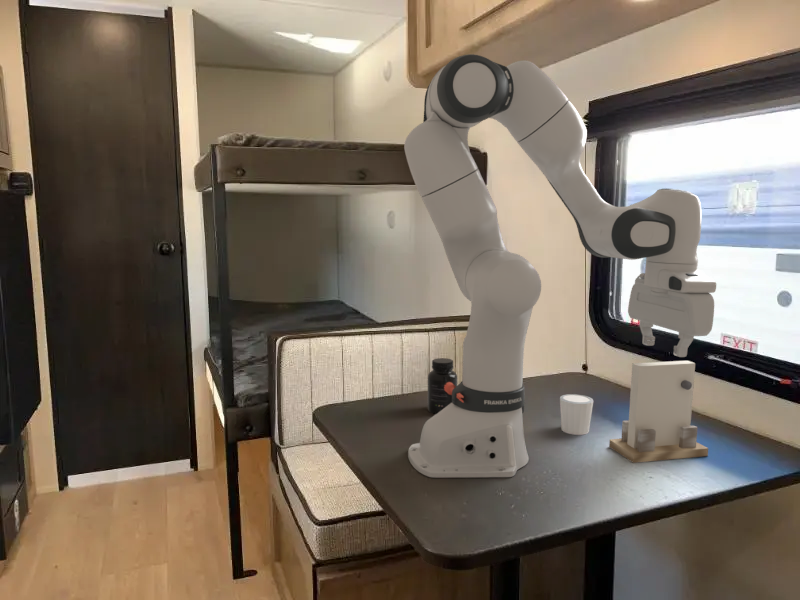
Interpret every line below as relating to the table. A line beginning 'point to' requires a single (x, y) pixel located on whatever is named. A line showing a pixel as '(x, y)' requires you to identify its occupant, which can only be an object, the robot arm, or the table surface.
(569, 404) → the white cup
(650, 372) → the rectangular slab
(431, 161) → the robot arm
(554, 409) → the table surface
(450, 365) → the supplement bottle
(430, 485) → the table surface
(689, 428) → the peg board base
